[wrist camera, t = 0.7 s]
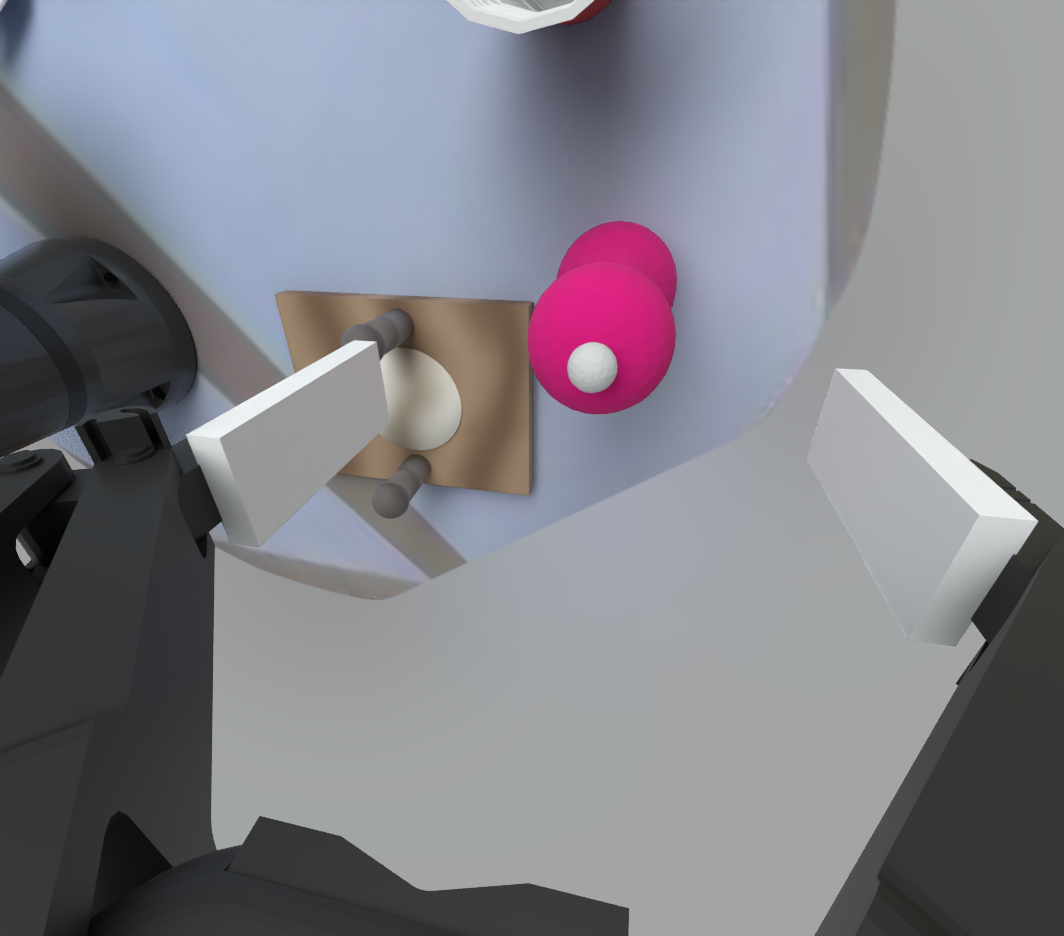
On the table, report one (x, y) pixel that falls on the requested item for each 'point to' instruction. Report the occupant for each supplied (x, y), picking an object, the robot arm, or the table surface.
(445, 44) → the table surface
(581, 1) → the plastic cup
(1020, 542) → the robot arm
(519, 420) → the holder
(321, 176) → the table surface
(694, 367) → the table surface
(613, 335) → the pepper mill
